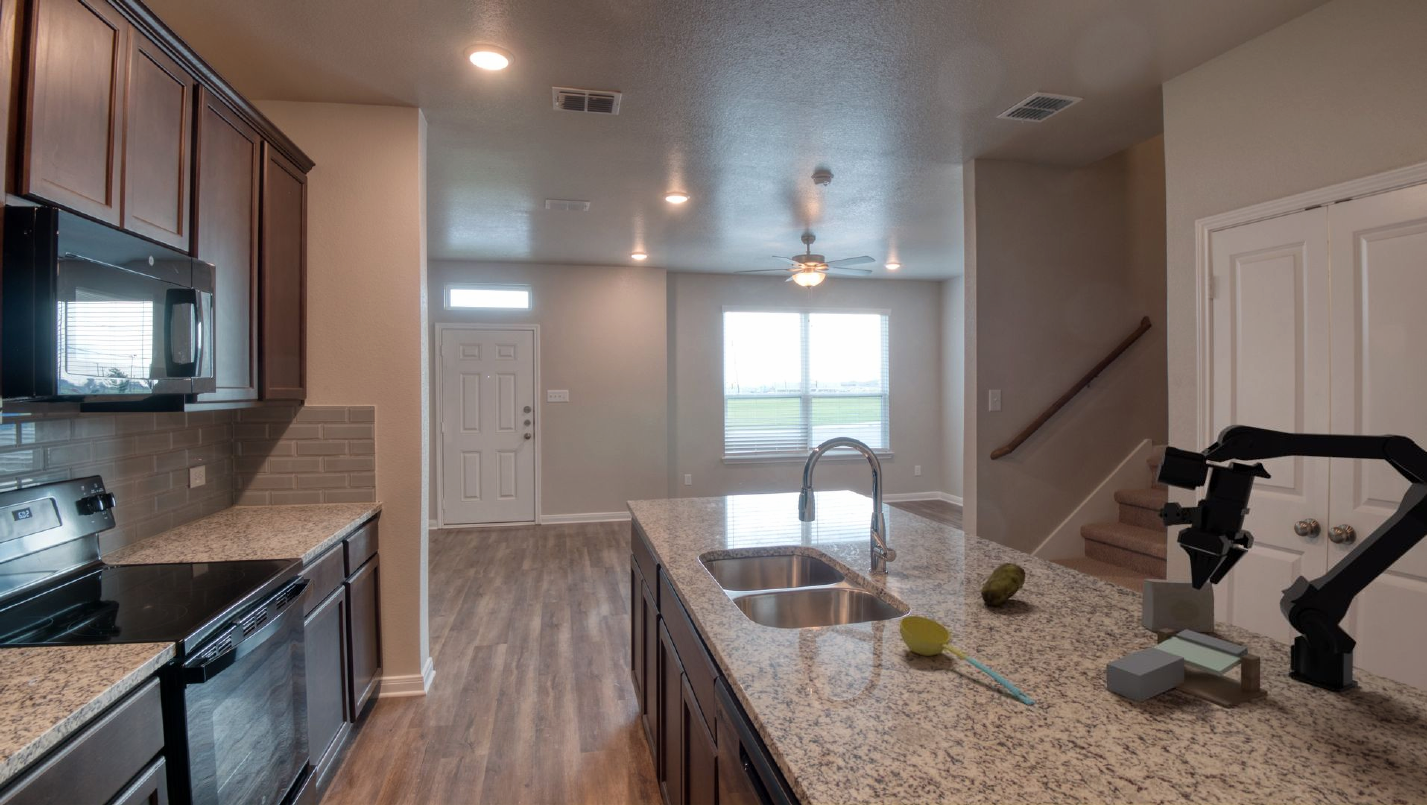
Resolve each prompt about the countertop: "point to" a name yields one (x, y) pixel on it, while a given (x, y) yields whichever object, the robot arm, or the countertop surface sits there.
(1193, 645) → the trapdoor
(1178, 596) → the grey plaster block
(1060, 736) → the countertop surface
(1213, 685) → the trapdoor frame
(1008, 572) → the potato
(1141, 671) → the grey rectangular block
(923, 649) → the ladle
